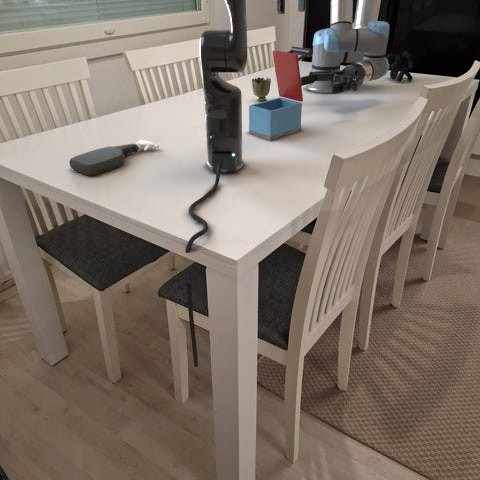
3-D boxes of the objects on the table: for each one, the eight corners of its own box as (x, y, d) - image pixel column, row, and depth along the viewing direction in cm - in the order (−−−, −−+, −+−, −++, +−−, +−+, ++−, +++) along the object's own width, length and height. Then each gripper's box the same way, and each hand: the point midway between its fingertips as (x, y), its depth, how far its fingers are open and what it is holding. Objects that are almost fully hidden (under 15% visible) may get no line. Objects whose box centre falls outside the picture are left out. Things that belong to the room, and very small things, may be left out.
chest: (270, 140, 136) (270, 111, 131) (248, 133, 142) (248, 105, 138) (300, 130, 144) (302, 103, 139) (279, 123, 150) (280, 97, 145)
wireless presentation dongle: (67, 168, 120) (139, 144, 136) (91, 178, 114) (163, 151, 130) (65, 157, 118) (137, 134, 134) (89, 167, 112) (162, 142, 128)
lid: (295, 55, 129) (315, 44, 133) (272, 51, 135) (291, 40, 139) (301, 102, 138) (319, 90, 142) (279, 96, 145) (297, 85, 148)
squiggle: (400, 92, 202) (376, 71, 205) (417, 76, 202) (392, 56, 205) (405, 81, 191) (380, 59, 194) (423, 64, 191) (397, 42, 194)
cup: (248, 101, 174) (248, 80, 169) (256, 97, 179) (256, 76, 175) (265, 103, 171) (266, 82, 166) (273, 99, 176) (274, 78, 172)
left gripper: (301, -55, 126) (298, 10, 134) (265, -55, 118) (264, 13, 127) (322, -56, 121) (317, 11, 130) (285, -56, 113) (283, 15, 122)
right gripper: (384, 91, 152) (345, 105, 141) (327, 78, 168) (288, 89, 156) (388, 69, 148) (348, 81, 137) (329, 57, 164) (289, 67, 152)
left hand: (291, 12), depth 128 cm, fingers open, 8 cm apart
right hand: (316, 85), depth 146 cm, fingers open, 13 cm apart
